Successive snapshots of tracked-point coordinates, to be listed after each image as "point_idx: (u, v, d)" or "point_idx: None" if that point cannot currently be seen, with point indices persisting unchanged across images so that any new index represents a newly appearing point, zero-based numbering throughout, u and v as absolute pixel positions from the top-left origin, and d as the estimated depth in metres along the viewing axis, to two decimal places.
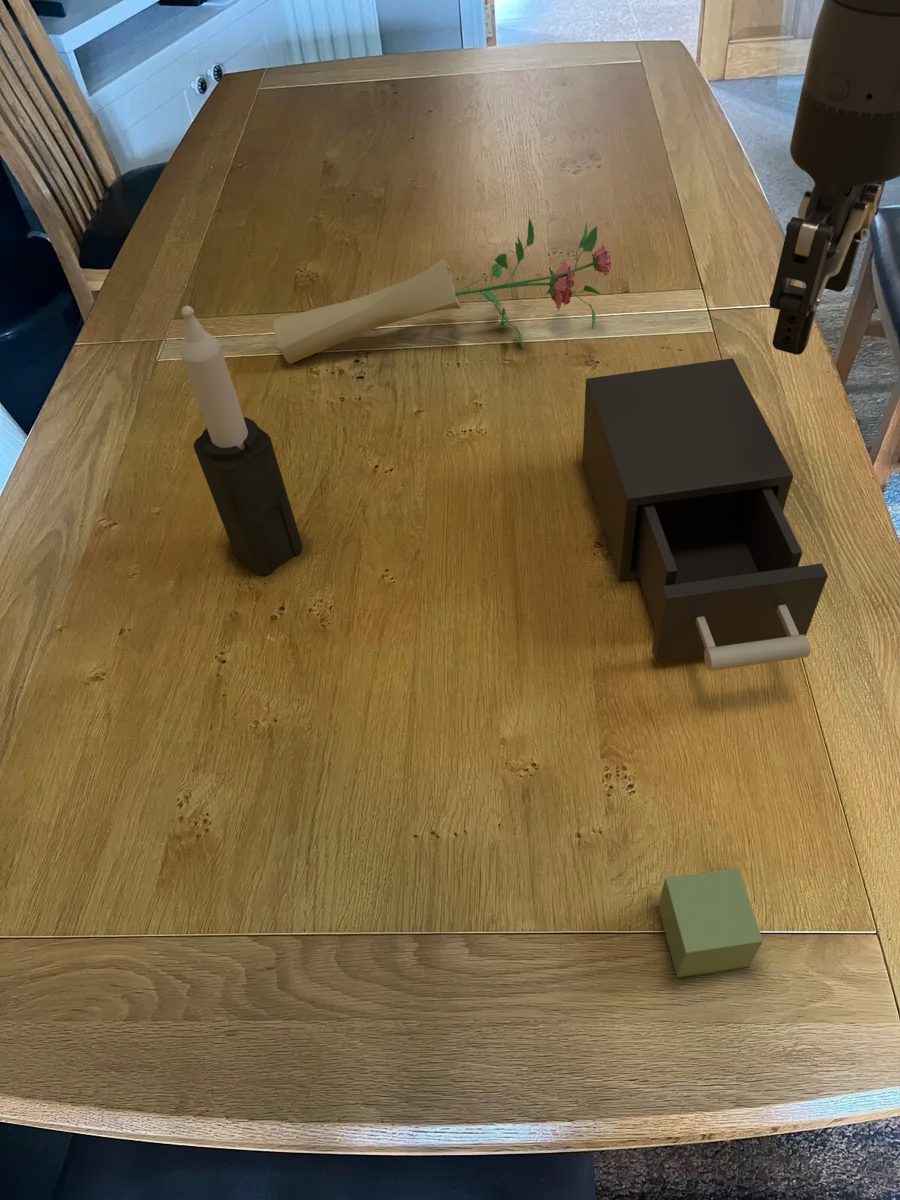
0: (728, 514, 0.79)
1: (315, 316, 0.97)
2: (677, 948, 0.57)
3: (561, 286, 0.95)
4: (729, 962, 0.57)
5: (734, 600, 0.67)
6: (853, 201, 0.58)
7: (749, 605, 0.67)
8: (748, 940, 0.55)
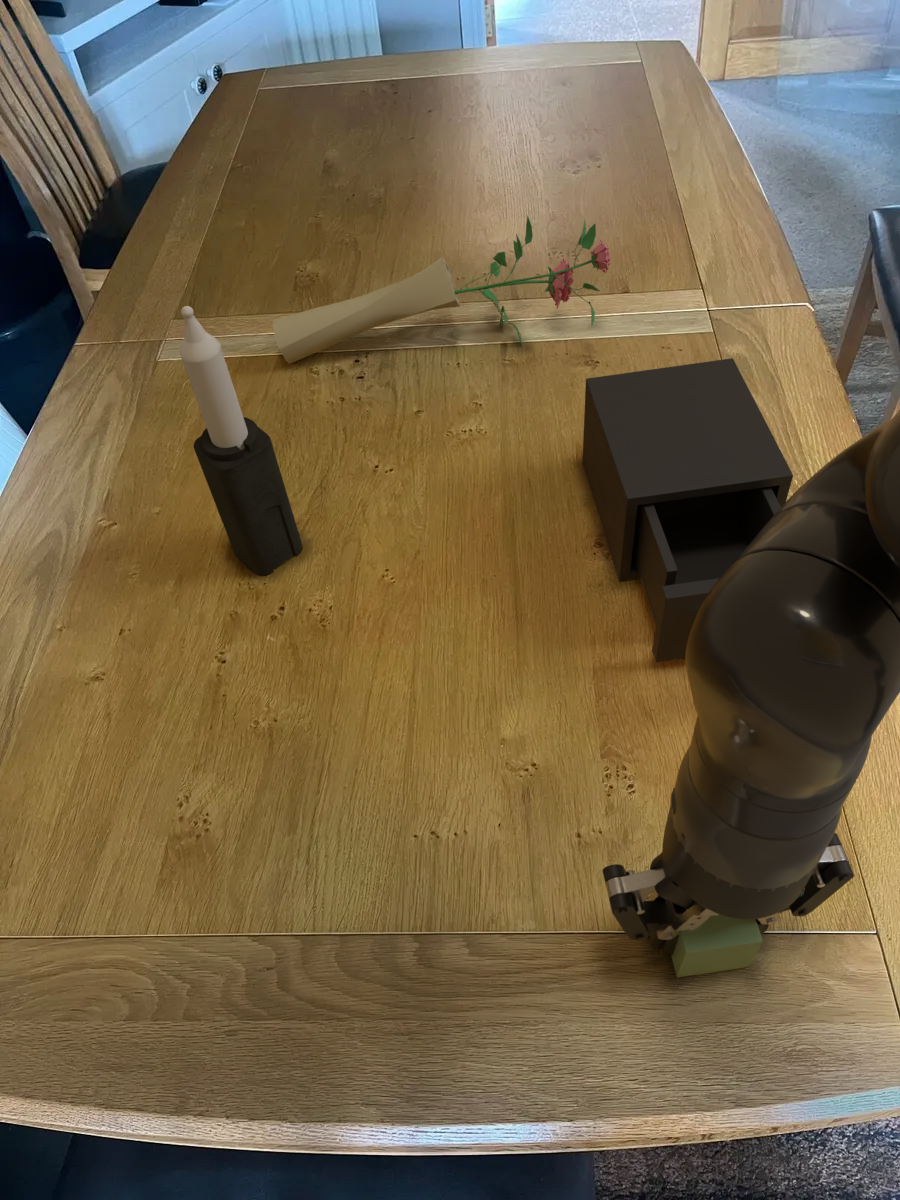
0: (728, 514, 0.79)
1: (314, 316, 0.97)
2: (677, 948, 0.57)
3: (560, 284, 0.95)
4: (729, 962, 0.57)
5: None
6: None
7: None
8: (748, 940, 0.55)
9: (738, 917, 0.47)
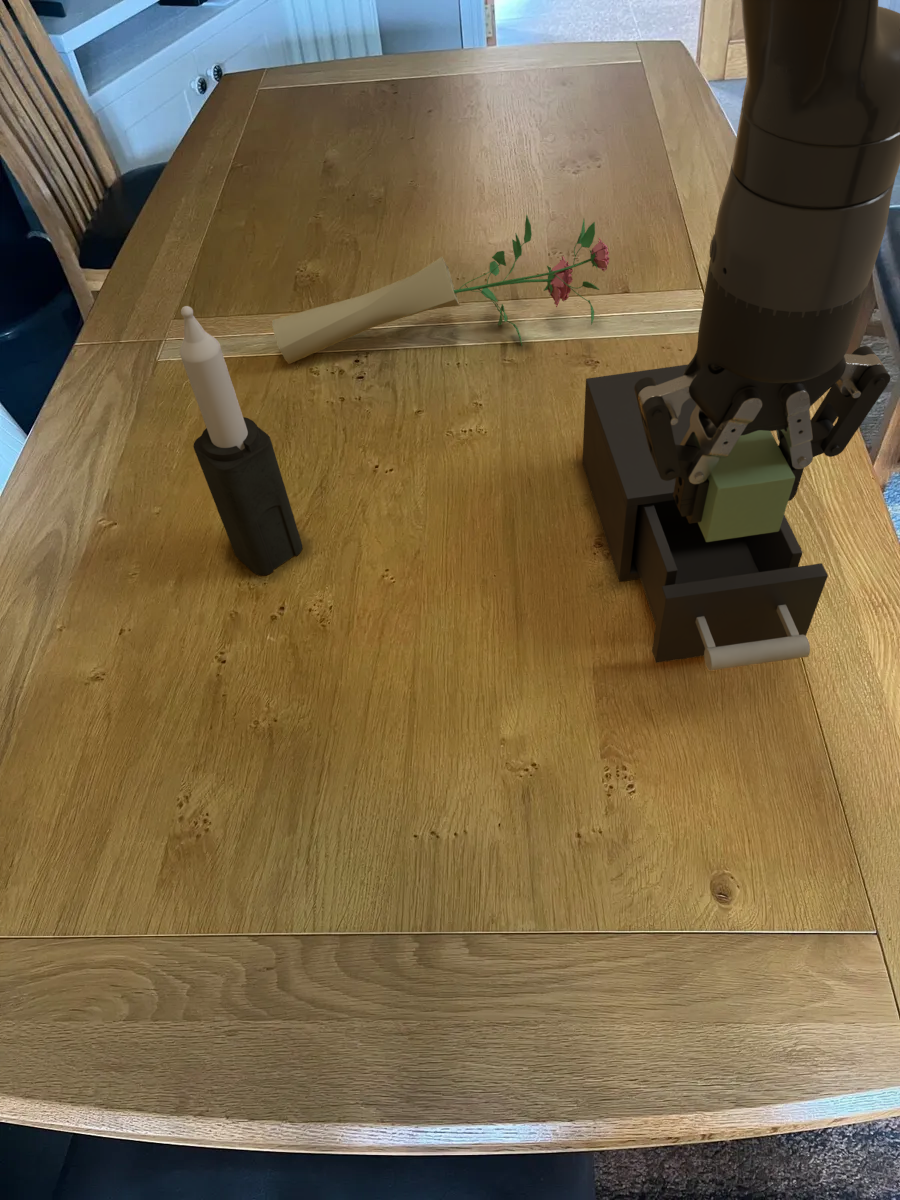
0: None
1: (314, 316, 0.97)
2: (707, 502, 0.56)
3: (559, 282, 0.95)
4: (759, 517, 0.56)
5: (734, 600, 0.67)
6: (742, 387, 0.49)
7: (749, 605, 0.67)
8: (781, 477, 0.54)
9: (778, 377, 0.46)
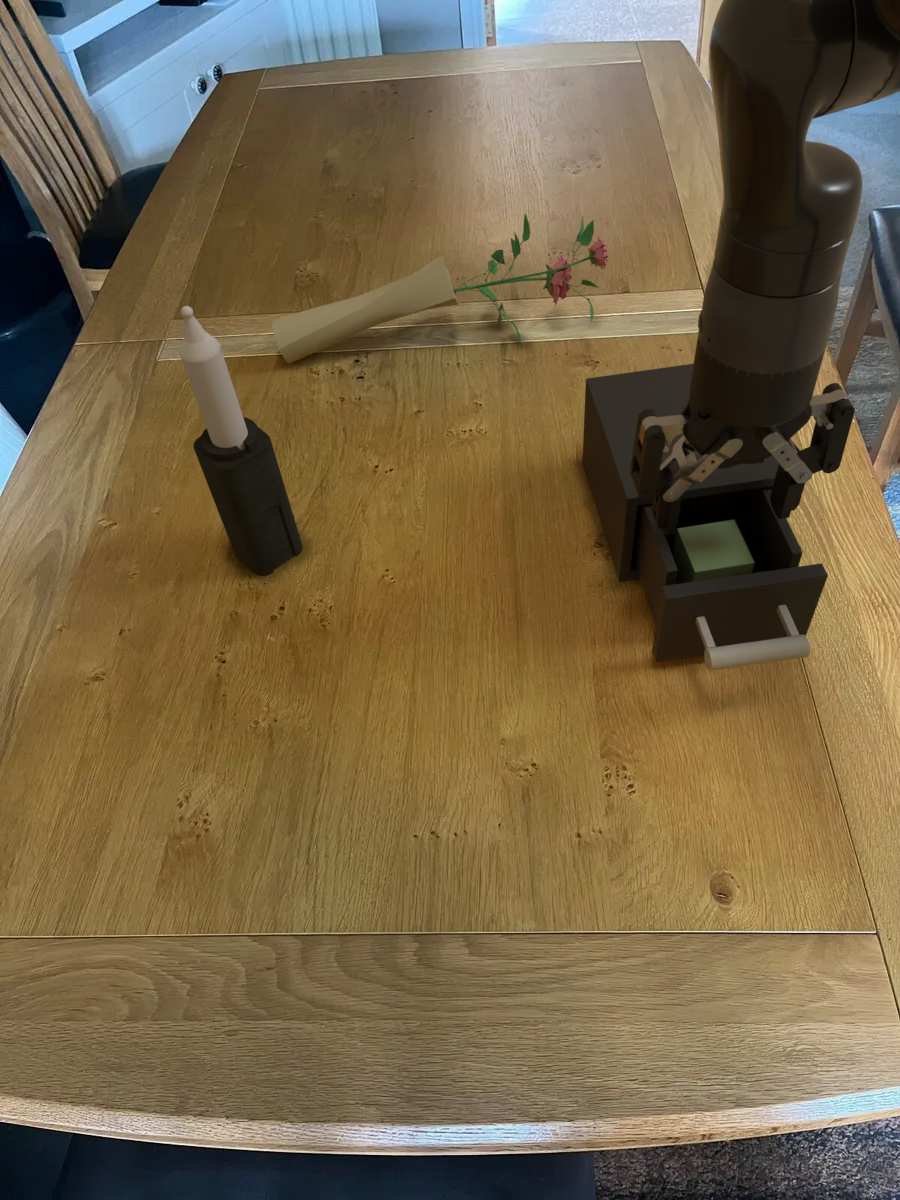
0: (728, 514, 0.79)
1: (313, 315, 0.97)
2: (687, 580, 0.72)
3: (558, 280, 0.96)
4: None
5: (734, 600, 0.67)
6: (726, 429, 0.61)
7: (749, 605, 0.67)
8: (743, 562, 0.70)
9: (753, 423, 0.57)
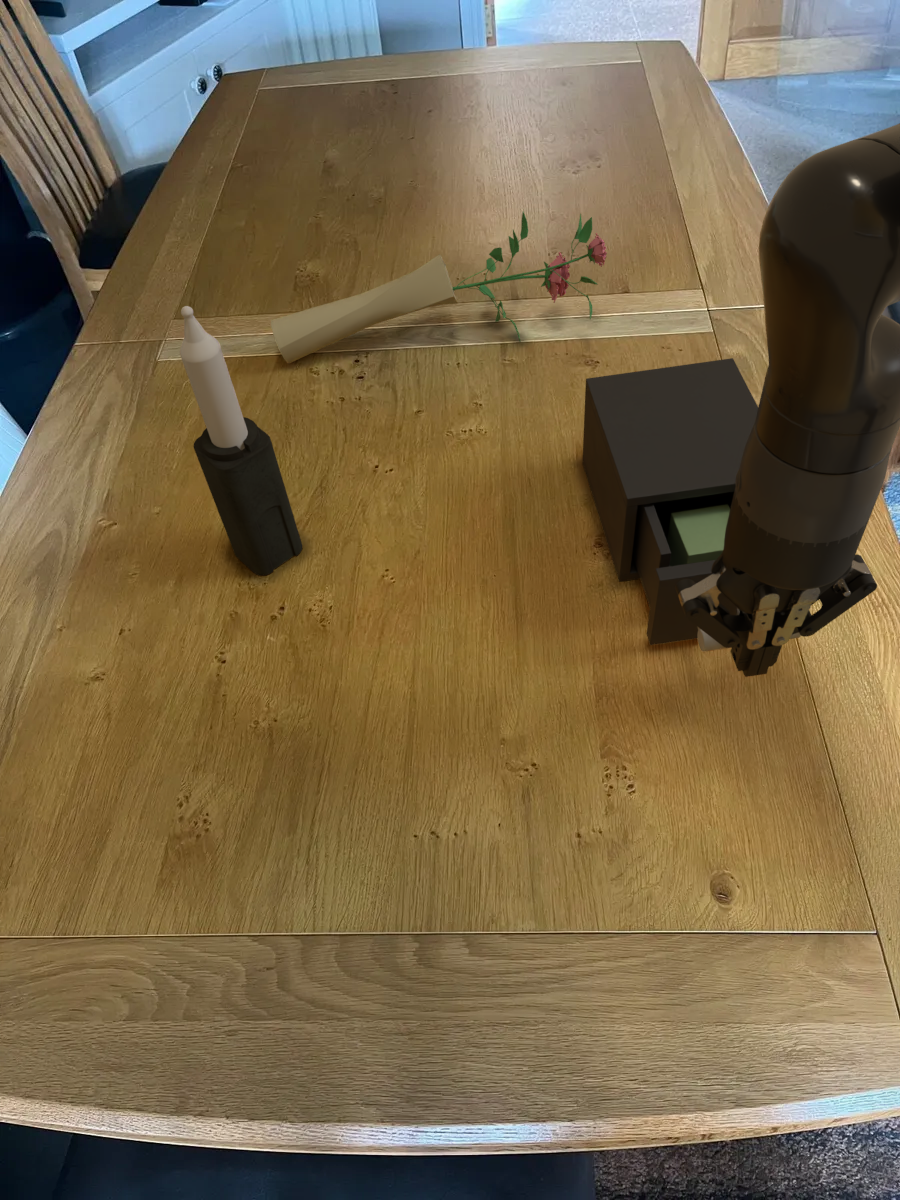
0: (722, 500, 0.80)
1: (313, 315, 0.97)
2: (681, 563, 0.73)
3: (557, 278, 0.96)
4: None
5: None
6: (762, 583, 0.57)
7: None
8: None
9: (794, 586, 0.54)
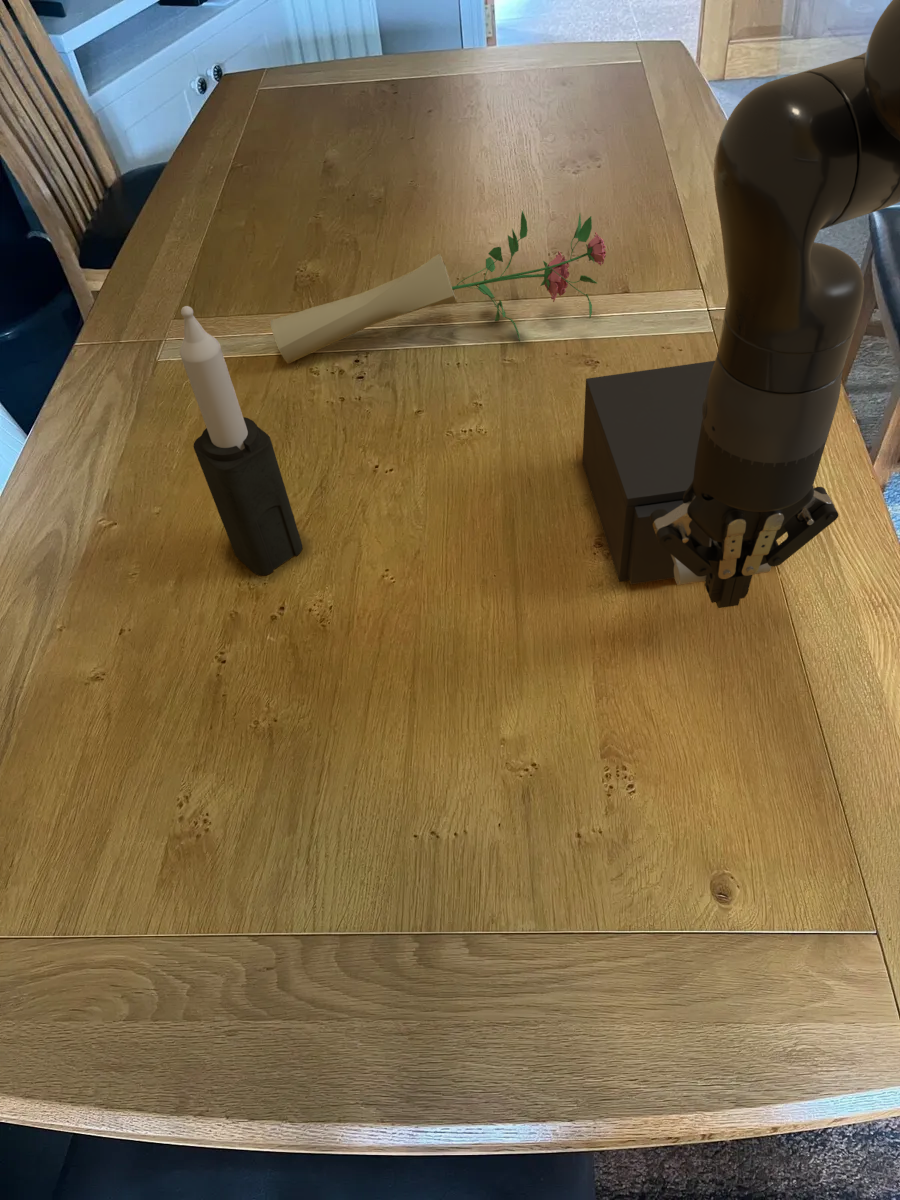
0: None
1: (312, 315, 0.97)
2: None
3: (556, 277, 0.96)
4: None
5: None
6: (730, 509, 0.62)
7: None
8: None
9: (757, 508, 0.58)
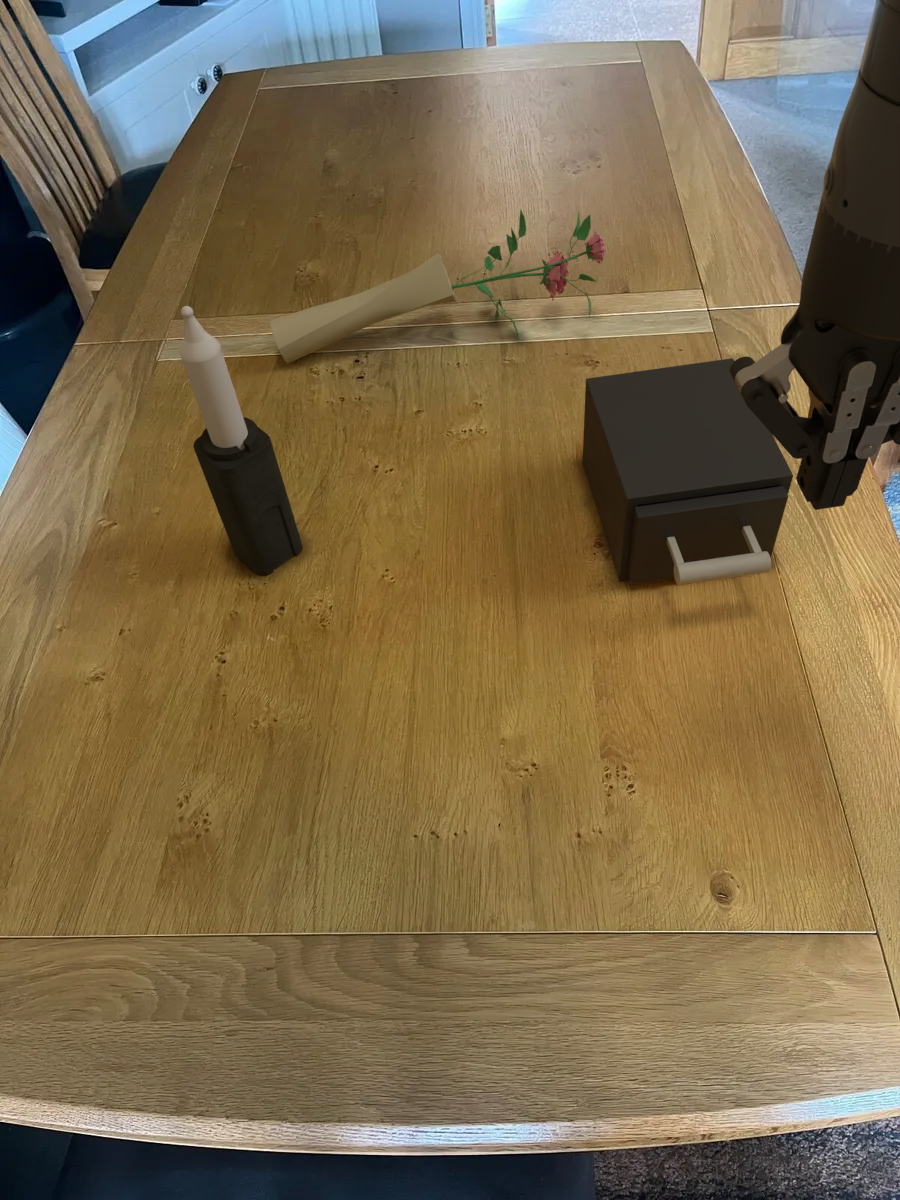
0: None
1: (312, 314, 0.97)
2: None
3: (555, 275, 0.96)
4: None
5: (702, 520, 0.72)
6: (852, 349, 0.42)
7: (716, 526, 0.72)
8: None
9: None
